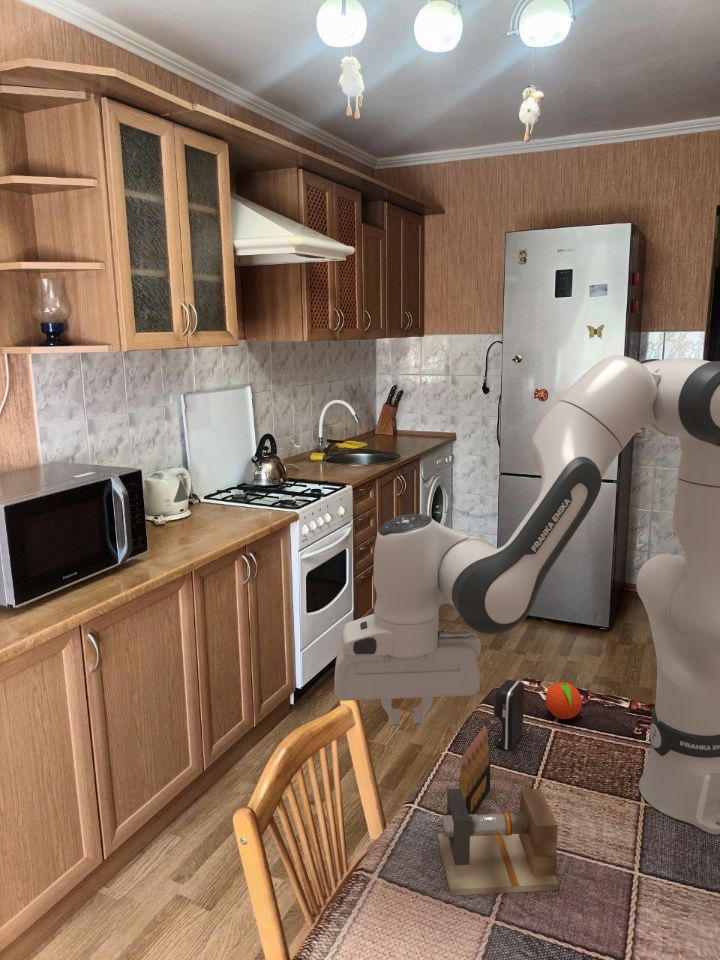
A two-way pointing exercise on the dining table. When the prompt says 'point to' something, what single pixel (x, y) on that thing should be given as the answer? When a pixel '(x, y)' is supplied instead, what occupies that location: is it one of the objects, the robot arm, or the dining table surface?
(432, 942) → the dining table surface
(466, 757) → the ammunition clip
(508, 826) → the steel pipe
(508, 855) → the pipe stand
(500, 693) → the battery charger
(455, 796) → the collar
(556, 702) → the clementine
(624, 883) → the dining table surface
